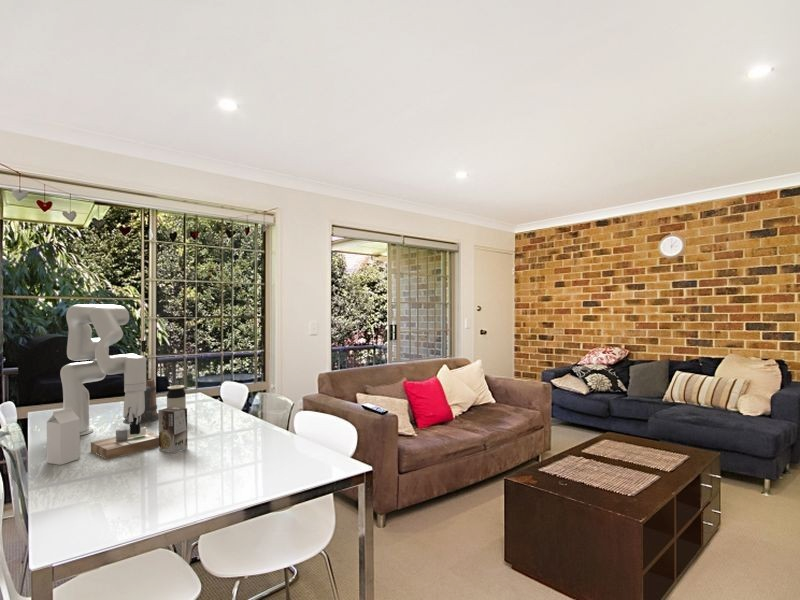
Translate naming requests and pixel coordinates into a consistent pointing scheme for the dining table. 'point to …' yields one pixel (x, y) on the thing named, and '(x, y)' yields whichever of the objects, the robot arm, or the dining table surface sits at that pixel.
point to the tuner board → (124, 445)
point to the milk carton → (63, 437)
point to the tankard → (148, 404)
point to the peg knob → (128, 434)
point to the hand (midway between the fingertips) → (135, 433)
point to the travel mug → (176, 396)
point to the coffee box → (173, 429)
